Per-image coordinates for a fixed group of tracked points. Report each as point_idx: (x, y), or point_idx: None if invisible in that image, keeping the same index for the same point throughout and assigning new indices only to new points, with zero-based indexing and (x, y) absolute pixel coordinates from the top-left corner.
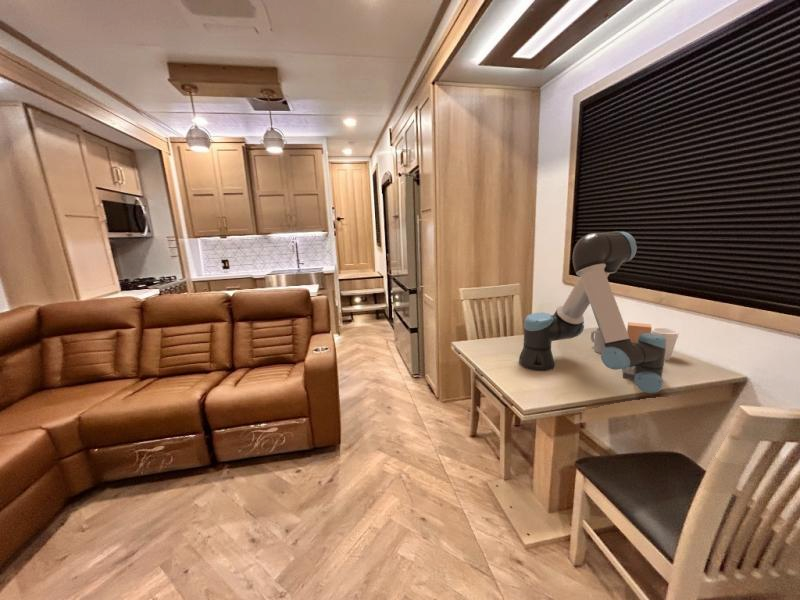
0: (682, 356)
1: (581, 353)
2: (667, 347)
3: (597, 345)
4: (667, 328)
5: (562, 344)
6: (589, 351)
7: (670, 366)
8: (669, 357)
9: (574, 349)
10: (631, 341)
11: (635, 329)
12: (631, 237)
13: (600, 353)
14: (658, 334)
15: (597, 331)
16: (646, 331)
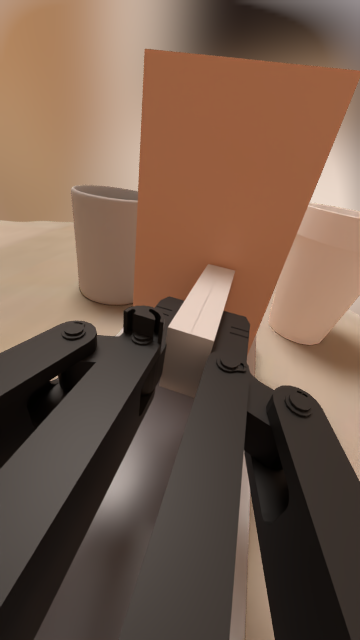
0: (353, 324)
1: (6, 292)
2: (340, 296)
3: (78, 262)
4: (354, 210)
5: (9, 250)
6: (59, 285)
7: (332, 395)
8: (325, 335)
9: (13, 272)
10: (164, 243)
11: (200, 112)
12: None
13: (87, 297)
14: (328, 224)
15: (71, 190)
16: (292, 138)
